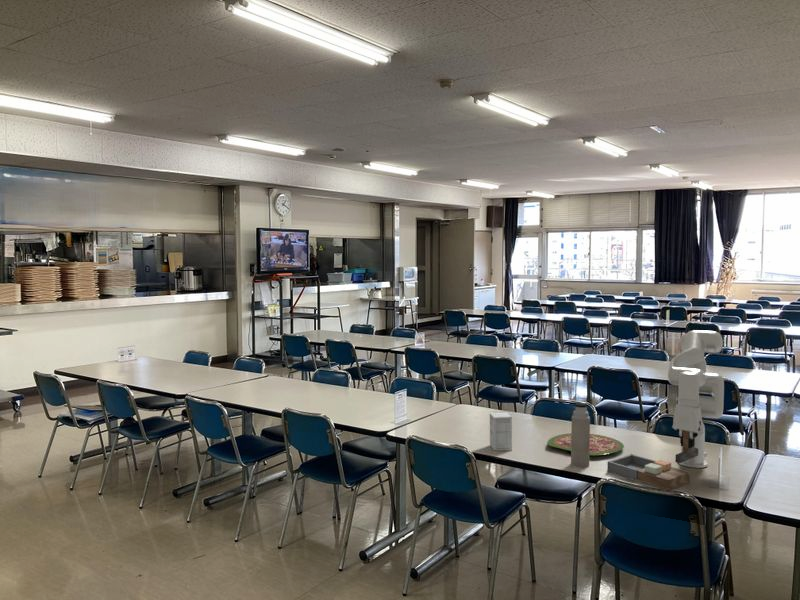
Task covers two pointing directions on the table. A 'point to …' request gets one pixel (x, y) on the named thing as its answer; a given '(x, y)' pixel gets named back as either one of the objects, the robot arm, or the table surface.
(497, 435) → the supplement box
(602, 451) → the pizza
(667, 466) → the terracotta tile
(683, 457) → the scraper
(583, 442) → the thermos bottle
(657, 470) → the sage tile
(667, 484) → the tan flat block
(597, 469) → the table surface
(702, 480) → the table surface
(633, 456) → the box
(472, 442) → the table surface
